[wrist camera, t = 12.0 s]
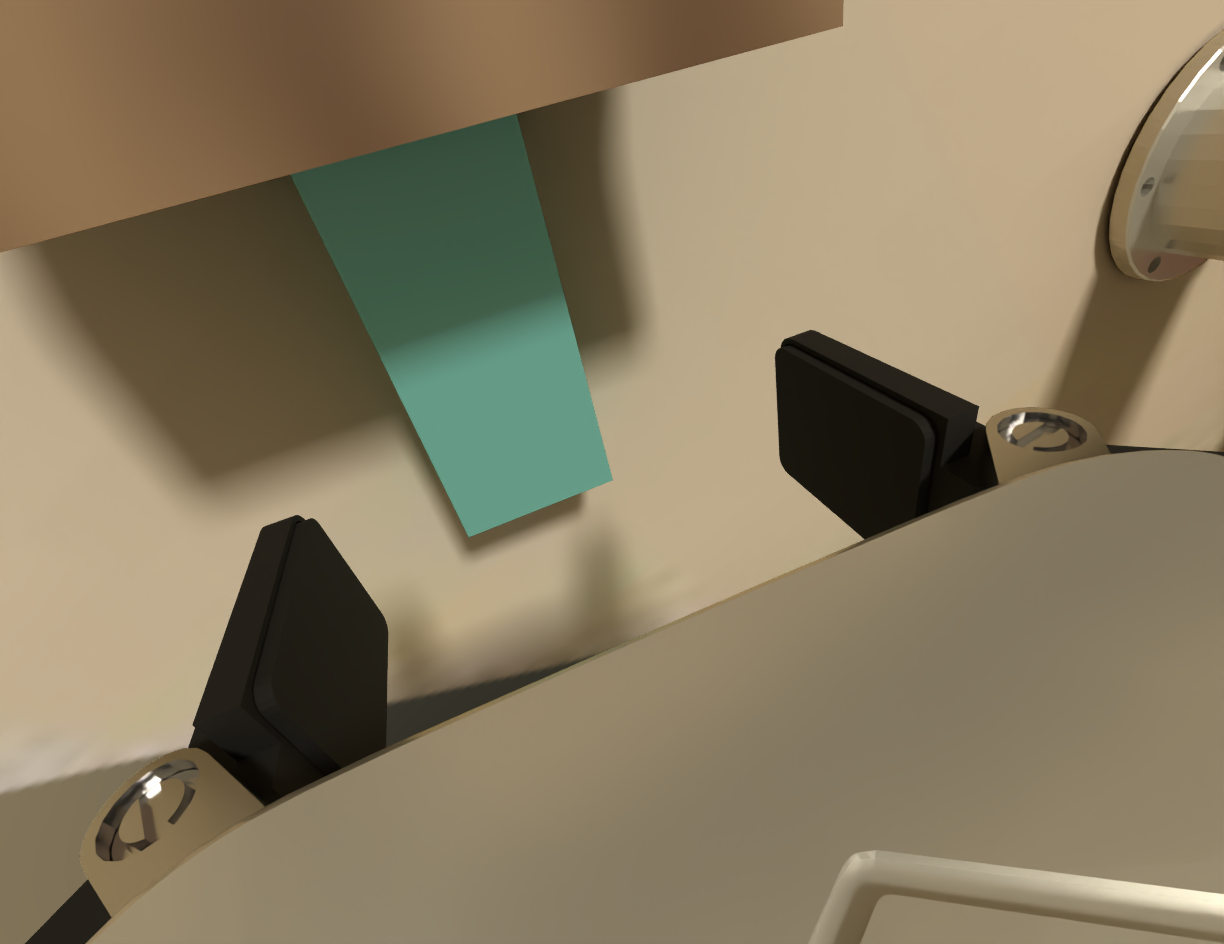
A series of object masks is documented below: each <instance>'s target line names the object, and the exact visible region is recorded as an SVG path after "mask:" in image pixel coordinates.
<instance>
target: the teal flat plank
mask: <svg viewBox="0 0 1224 944" xmlns="http://www.w3.org/2000/svg"><path fill="white" fill-rule="evenodd" d="M290 176H291V178H292V180H293V182H294V184H295V186H296V188H297V190H298V192H299V194H300V196H301V198H302V200H303V202H304V204H305V206H306V208H307V210H308V212H309V214H310V216H311V218H312V220H313V222H314V224H315V226H316V228H317V230H318V232H319V234H320V236H321V238H322V240H323V243H324V245H325V247H326V249H327V251H328V253H329V255H330V257H331V259H332V261H333V263H334V265H335V267H336V269H337V271H338V273H339V275H340V277H341V279H342V281H343V283H344V285H345V287H346V289H347V291H348V293H349V295H350V297H351V299H352V301H353V303H354V305H355V307H356V309H357V312H358V314H359V316H360V318H361V320H362V322H363V324H364V326H365V328H366V330H367V332H368V334H369V336H370V338H371V340H372V342H373V344H374V346H375V348H376V350H377V352H378V354H379V356H380V358H381V360H382V362H383V364H384V366H385V368H386V370H387V372H388V374H389V376H390V378H391V381H392V383H393V385H394V387H395V389H396V391H397V393H398V395H399V397H400V399H401V401H402V403H403V405H404V407H405V409H406V411H407V413H408V415H409V417H410V419H411V421H412V423H413V425H414V427H415V429H416V431H417V433H418V435H419V437H420V439H421V441H422V443H423V445H424V448H425V450H426V452H427V454H428V456H429V458H430V460H431V462H432V464H433V466H434V468H435V470H436V472H437V474H438V476H439V478H440V480H441V482H442V484H443V486H444V488H445V490H446V492H447V494H448V496H449V498H450V500H451V502H452V504H453V506H454V508H455V510H456V512H457V514H458V517H459V519H460V521H461V523H462V525H463V527H464V529H465V531H466V533H467V535H468V537H471V536H473V535H476V534H478V533H481V532H483V531H486V530H488V529H491V528H494V527H496V526H499V525H501V524H504V523H506V522H509V521H511V520H514V519H516V518H519V517H521V516H524V515H526V514H529V513H531V512H534V511H536V510H539V509H541V508H544V507H546V506H549V505H551V504H554V503H557V502H559V501H562V500H564V499H567V498H569V497H572V496H574V495H577V494H579V493H582V492H584V491H587V490H589V489H592V488H594V487H597V486H599V485H602V484H604V483H607V482H609V481H612V480H613V479H612V475H611V472H610V468H609V464H608V460H607V456H606V452H605V449H604V445H603V441H602V437H601V433H600V430H599V426H598V422H597V418H596V414H595V411H594V407H593V403H592V399H591V395H590V392H589V388H588V384H587V380H586V376H585V373H584V369H583V365H582V361H581V357H580V354H579V350H578V346H577V342H576V338H575V334H574V331H573V327H572V323H571V319H570V315H569V312H568V308H567V304H566V300H565V296H564V293H563V289H562V285H561V281H560V277H559V274H558V270H557V266H556V262H555V258H554V255H553V251H552V247H551V243H550V239H549V236H548V232H547V228H546V224H545V220H544V217H543V213H542V209H541V205H540V201H539V197H538V194H537V190H536V186H535V182H534V178H533V175H532V171H531V167H530V163H529V159H528V156H527V152H526V148H525V144H524V140H523V137H522V133H521V129H520V125H519V121H518V118H517V114H513V115H510V116H506V117H502V118H499V119H495V120H491V121H487V122H484V123H480V124H476V125H472V126H469V127H465V128H461V129H458V130H454V131H450V132H446V133H443V134H439V135H435V136H432V137H428V138H424V139H420V140H417V141H413V142H409V143H406V144H402V145H398V146H394V147H391V148H387V149H383V150H380V151H376V152H372V153H368V154H365V155H361V156H357V157H353V158H350V159H346V160H342V161H339V162H335V163H331V164H327V165H324V166H320V167H316V168H313V169H309V170H305V171H301V172H298V173H294V174H290Z"/></svg>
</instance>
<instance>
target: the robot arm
mask: <svg viewBox="0 0 1224 944" xmlns="http://www.w3.org/2000/svg"><path fill="white" fill-rule="evenodd" d="M1109 242H1110V248H1111V254H1112V257H1113V259H1114V261H1115V263H1116V265H1117V267H1118V268H1119V269H1120V270H1121V271H1122V272H1123V273H1124V274H1125V275H1128V276H1130V277H1133V278H1136V279H1143V280H1150V281H1156V282H1158V281H1164V280H1170V279H1173V278H1175V277H1178V276H1180V275H1182V274H1185V273H1187V272H1189V271H1190V270H1192V269H1194V268H1195V267H1197V266H1199V265H1200V264H1202V263H1204V262H1205V261H1206V260H1207V259H1215V260H1222V261H1224V30H1222V31H1221V32H1220V33H1219V34H1217V35H1216V36H1215V37H1214V38H1213V39H1211V40H1210V41H1209V42H1208V43H1207V44H1206V45H1205V46H1204V47H1203V48H1202V49H1201V50H1200V51H1199V52H1198V53H1197V54H1196V55H1195V56H1194V57H1193V58H1192V59H1191V60H1190V61H1189V62H1188V63H1187V64H1186V65H1185V67H1184V68H1183V69H1182V70H1181V72H1180V73H1179V74H1178V76H1177V77H1176V78H1175V79H1174V81H1173V82H1172V83H1171V84H1170V86H1169V87H1168V88H1167V89H1166V91H1165V92H1164V94H1163V95H1162V97H1161V98H1160V100H1159V101H1158V103H1157V105H1156V106H1155V108H1154V109H1153V111H1152V112H1151V114H1150V115H1149V117H1148V119H1147V120H1146V122H1145V124H1144V126H1143V128H1142V130H1141V132H1140V133H1139V135H1138V137H1137V139H1136V141H1135V143H1134V145H1133V147H1132V149H1131V152H1130V154H1129V156H1128V158H1127V161H1126V163H1125V165H1124V168H1123V170H1122V173H1121V176H1120V179H1119V182H1118V185H1117V189H1116V192H1115V195H1114V199H1113V204H1112V209H1111V215H1110V224H1109ZM775 366H776V389H777V411H778V433H779V456H780V461H781V464H782V466H783V468H784V469H785V471H786V472H787V473H788V474H789V475H790V476H792V477H793V478H794V479H795V480H796V481H797V482H799V483H800V484H801V485H802V486H803V487H804V488H805V489H807V490H808V491H809V492H810V493H811V494H812V495H814V496H815V497H816V498H817V499H818V500H819V501H821V502H822V503H823V504H824V505H825V506H826V507H828V508H829V509H830V510H831V511H832V512H833V513H835V514H836V515H837V516H838V517H839V518H840V519H842V520H843V521H844V522H845V523H846V524H847V525H849V526H850V527H851V528H852V529H853V530H854V531H856V532H857V533H858V534H859V535H860V536H861V537H862V538H864V539H865V540H863V541H860V542H858V543H856V544H853V545H851V546H848V547H846V548H844V549H841V550H839V551H837V552H834V553H832V554H830V555H827V556H825V557H823V558H820V559H818V560H816V561H813V562H811V563H809V564H806V565H804V566H801V567H799V568H797V569H794V570H792V571H790V572H787V573H785V574H783V575H780V576H778V577H776V578H773V579H771V580H769V581H766V582H764V583H762V584H759V585H757V586H755V587H752V588H750V589H748V590H745V591H743V592H741V593H738V594H736V595H734V596H732V597H729V598H727V599H725V600H722V601H720V602H718V603H715V604H713V605H711V606H708V607H706V608H704V609H701V610H699V611H697V612H694V613H692V614H690V615H687V616H685V617H683V618H681V619H678V620H676V621H674V622H671V623H669V624H667V625H664V626H662V627H660V628H657V629H655V630H653V631H651V632H648V633H646V634H644V635H641V636H639V637H637V638H634V639H632V640H630V641H627V642H625V643H623V644H621V645H618V646H616V647H614V648H611V649H609V650H607V651H604V652H602V653H600V654H598V655H595V656H593V657H591V658H589V659H586V660H584V661H582V662H579V663H577V664H575V665H572V666H570V667H568V668H566V669H563V670H561V671H559V672H557V673H554V674H552V675H550V676H547V677H545V678H543V679H541V680H538V681H536V682H534V683H531V684H529V685H527V686H525V687H522V688H520V689H518V690H515V691H513V692H511V693H509V694H506V695H504V696H502V697H500V698H497V699H495V700H493V701H491V702H488V703H486V704H484V705H481V706H479V707H477V708H474V709H472V710H470V711H468V712H465V713H463V714H461V715H459V716H456V717H454V718H452V719H449V720H447V721H445V722H443V723H440V724H438V725H436V726H434V727H431V728H429V729H427V730H425V731H422V732H420V733H418V734H416V735H414V736H411V737H409V738H407V739H405V740H402V741H400V742H398V743H395V744H393V745H391V746H389V747H386V719H387V716H386V715H387V670H388V627H387V624H386V621H385V618H384V616H383V614H382V613H381V611H380V610H379V608H378V607H377V606H376V604H375V603H374V601H373V600H372V599H371V597H370V596H369V594H368V593H367V591H366V590H365V589H364V587H363V586H362V584H361V583H360V581H359V580H358V579H357V577H356V576H355V574H354V573H353V571H352V570H351V569H350V567H349V566H348V564H347V563H346V561H345V560H344V559H343V557H342V556H341V554H340V553H339V551H338V550H337V549H336V547H335V546H334V544H333V543H332V541H331V540H330V539H329V537H328V536H327V534H326V533H325V531H324V530H323V529H322V527H321V526H320V524H319V523H318V522H317V521H316V520H315V519H313V518H310V519H308V520H305V519H304V518H302V517H301V516H299V515H295V516H292V517H290V518H287V519H284V520H281V521H278V522H276V523H273V524H270V525H267V526H265V527H263V528H262V529H261V531H260V534H259V537H258V540H257V543H256V545H255V548H254V551H253V554H252V557H251V560H250V562H249V565H248V568H247V571H246V574H245V577H244V580H243V582H242V585H241V588H240V591H239V594H238V597H237V600H236V602H235V605H234V608H233V611H232V614H231V617H230V619H229V622H228V625H227V628H226V631H225V634H224V637H223V639H222V642H221V645H220V648H219V651H218V654H217V657H216V659H215V662H214V665H213V668H212V671H211V674H210V676H209V679H208V682H207V685H206V688H205V691H204V694H203V696H202V699H201V702H200V705H199V708H198V711H197V713H196V716H195V719H194V722H193V726H194V727H195V730H194V733H193V735H192V738H191V741H190V744H189V747H188V748H183V749H180V750H177V751H174V752H171V753H168V754H165V755H163V756H162V757H160V758H158V759H156V760H155V761H153V762H151V763H149V764H148V765H146V766H145V767H143V768H142V769H141V770H139V771H138V772H137V773H136V774H134V775H133V776H132V777H131V778H129V779H128V780H127V781H126V782H125V783H124V784H123V785H122V786H121V787H120V788H119V789H118V790H117V791H116V792H115V793H114V794H113V795H112V796H111V797H110V798H109V799H108V800H107V802H106V803H105V804H104V806H103V807H102V808H101V810H100V811H99V812H98V814H97V815H96V816H95V818H94V819H93V821H92V823H91V825H90V827H89V829H88V831H87V833H86V835H85V837H84V839H83V843H82V847H81V852H80V856H79V857H80V861H81V866H82V870H83V872H84V873H85V875H86V877H87V878H88V880H87V881H86V882H85V883H84V884H83V885H82V886H81V887H80V888H79V889H78V890H77V891H76V892H75V893H74V894H73V895H72V896H71V897H70V898H69V899H68V900H67V901H66V902H65V903H64V904H63V905H62V906H61V907H60V908H59V909H58V910H57V911H56V913H54V915H52V916H51V918H50V919H49V920H48V921H47V922H46V923H45V924H44V925H43V926H42V927H41V928H40V929H39V930H38V931H37V932H36V933H35V934H34V935H33V936H32V937H31V938H30V939H29V940H28V941H27V942H26V943H25V944H1224V452H1215V451H1198V450H1182V449H1165V448H1149V447H1132V446H1115V445H1106V444H1105V442H1104V440H1103V438H1102V436H1101V434H1100V432H1099V431H1098V430H1097V429H1096V428H1095V427H1094V425H1093V424H1091V423H1090V422H1088V421H1086V420H1085V419H1083V418H1081V417H1079V416H1076V415H1073V414H1071V413H1068V412H1065V411H1060V410H1055V409H1050V408H1037V407H1027V408H1015V409H1010V410H1006V411H1002V412H1000V413H998V414H996V415H994V416H992V417H991V418H990V419H989V421H988V422H987V423H986V426H984V425H982V424H980V423H978V422H976V419H977V414H978V409H979V406H977V405H975V404H972V403H970V402H968V401H966V400H964V399H962V398H959V397H957V396H955V395H953V394H951V393H949V392H946V391H944V390H942V389H940V388H938V387H936V386H933V385H931V384H929V383H927V382H925V381H923V380H920V379H918V378H916V377H914V376H912V375H910V374H907V373H905V372H903V371H901V370H899V369H897V368H894V367H892V366H890V365H888V364H886V363H884V362H881V361H879V360H877V359H875V358H873V357H871V356H868V355H866V354H864V353H862V352H860V351H858V350H855V349H853V348H851V347H849V346H847V345H845V344H843V343H840V342H838V341H836V340H834V339H832V338H830V337H827V336H825V335H823V334H821V333H819V332H817V331H814V330H809V331H806V332H803V333H800V334H798V335H795V336H792V337H789V338H787V339H784V341H783V342H782V344H781V348H779V349H778V350H777V351H776V354H775Z"/></svg>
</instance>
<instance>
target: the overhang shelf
mask: <svg viewBox="0 0 1224 944" xmlns="http://www.w3.org/2000/svg"><path fill="white" fill-rule="evenodd" d="M841 26H843V0H0V252H4V251H8V250H11V249H15V248H19V247H22V246H26V245H30V244H34V243H37V242H41V241H45V240H49V239H52V238H56V237H60V236H63V235H67V234H71V233H75V232H78V231H82V230H86V229H89V228H93V227H97V226H101V225H104V224H108V223H112V222H115V221H119V220H123V219H127V218H130V217H134V216H138V215H141V214H145V213H149V212H153V211H156V210H160V209H164V208H168V207H171V206H175V205H179V204H182V203H186V202H190V201H194V200H197V199H201V198H205V197H208V196H212V195H216V194H220V193H223V192H227V191H231V190H234V189H238V188H242V187H246V186H249V185H253V184H257V183H260V182H264V181H268V180H272V179H275V178H279V177H283V176H287V175H290V174H294V173H298V172H301V171H305V170H309V169H313V168H316V167H320V166H324V165H327V164H331V163H335V162H339V161H342V160H346V159H350V158H353V157H357V156H361V155H365V154H368V153H372V152H376V151H380V150H383V149H387V148H391V147H394V146H398V145H402V144H406V143H409V142H413V141H417V140H420V139H424V138H428V137H432V136H435V135H439V134H443V133H446V132H450V131H454V130H458V129H461V128H465V127H469V126H472V125H476V124H480V123H484V122H487V121H491V120H495V119H499V118H502V117H506V116H510V115H513V114H517V113H521V112H525V111H528V110H532V109H536V108H539V107H543V106H547V105H551V104H554V103H558V102H562V101H565V100H569V99H573V98H577V97H580V96H584V95H588V94H592V93H595V92H599V91H603V90H606V89H610V88H614V87H618V86H621V85H625V84H629V83H632V82H636V81H640V80H644V79H647V78H651V77H655V76H658V75H662V74H666V73H670V72H673V71H677V70H681V69H684V68H688V67H692V66H696V65H699V64H703V63H707V62H711V61H714V60H718V59H722V58H725V57H729V56H733V55H737V54H740V53H744V52H748V51H751V50H755V49H759V48H763V47H766V46H770V45H774V44H777V43H781V42H785V41H789V40H792V39H796V38H800V37H804V36H807V35H811V34H815V33H818V32H822V31H826V30H830V29H833V28H837V27H841Z"/></svg>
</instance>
